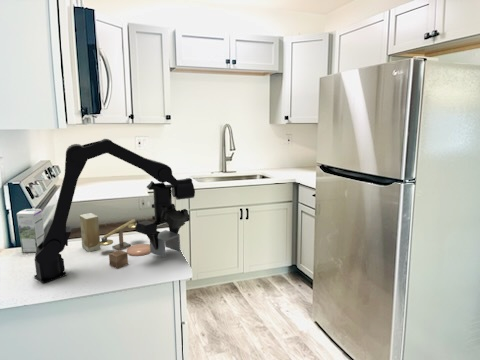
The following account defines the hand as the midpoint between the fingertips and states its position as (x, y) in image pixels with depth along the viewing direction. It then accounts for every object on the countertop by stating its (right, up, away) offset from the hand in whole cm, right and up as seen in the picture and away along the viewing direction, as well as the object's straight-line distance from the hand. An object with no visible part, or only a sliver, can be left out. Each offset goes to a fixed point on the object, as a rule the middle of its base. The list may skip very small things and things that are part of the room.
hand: (165, 246), depth 116 cm
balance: (-17, -2, +8) cm, 19 cm away
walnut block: (-13, -5, -7) cm, 15 cm away
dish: (-10, -2, +4) cm, 11 cm away
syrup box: (-48, -3, +6) cm, 48 cm away
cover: (0, -2, 0) cm, 2 cm away
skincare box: (-28, -2, +7) cm, 29 cm away
